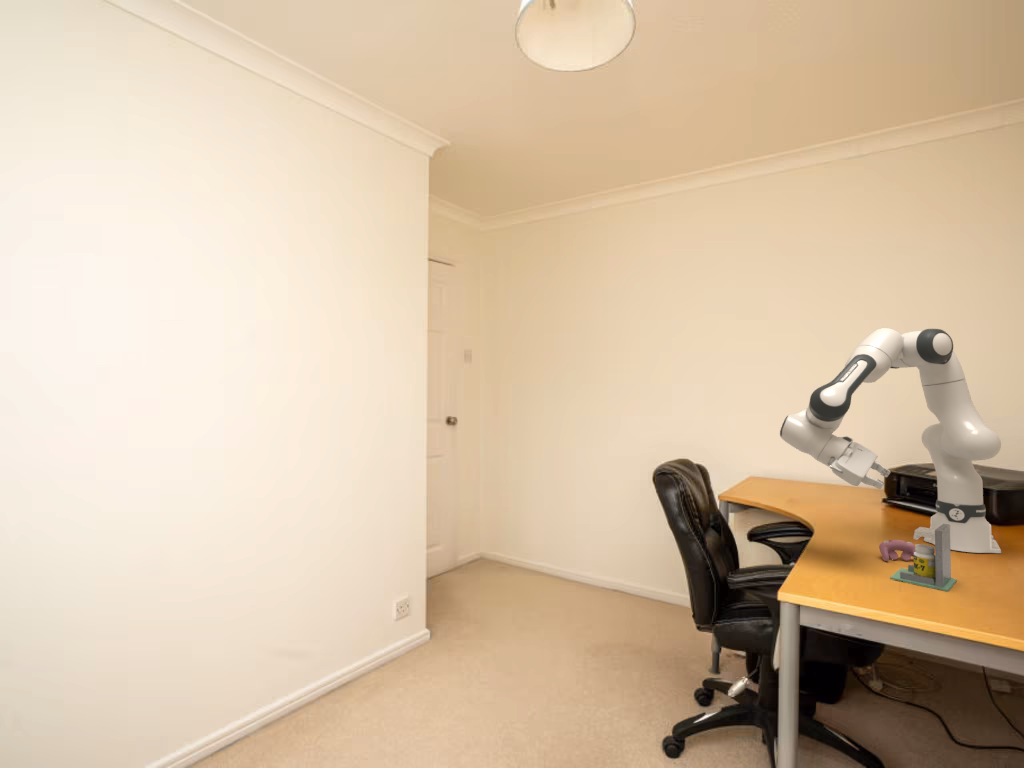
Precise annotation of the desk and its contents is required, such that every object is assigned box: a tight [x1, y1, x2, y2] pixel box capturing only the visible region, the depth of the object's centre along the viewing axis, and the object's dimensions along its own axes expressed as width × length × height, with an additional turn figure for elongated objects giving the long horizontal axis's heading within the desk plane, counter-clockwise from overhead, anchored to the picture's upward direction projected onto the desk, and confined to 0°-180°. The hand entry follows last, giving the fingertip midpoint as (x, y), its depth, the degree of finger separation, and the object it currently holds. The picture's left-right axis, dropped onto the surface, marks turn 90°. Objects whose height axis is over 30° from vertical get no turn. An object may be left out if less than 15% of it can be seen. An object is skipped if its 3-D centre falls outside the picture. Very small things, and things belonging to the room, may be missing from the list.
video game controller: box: [878, 539, 916, 563], centre depth 156 cm, size 10×5×7 cm, turn 73°
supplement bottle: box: [913, 543, 936, 581], centre depth 139 cm, size 5×5×8 cm
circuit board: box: [889, 567, 958, 592], centre depth 140 cm, size 11×12×1 cm
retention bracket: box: [900, 524, 952, 588], centre depth 139 cm, size 10×9×14 cm
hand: (885, 480), depth 149 cm, fingers open, 8 cm apart
